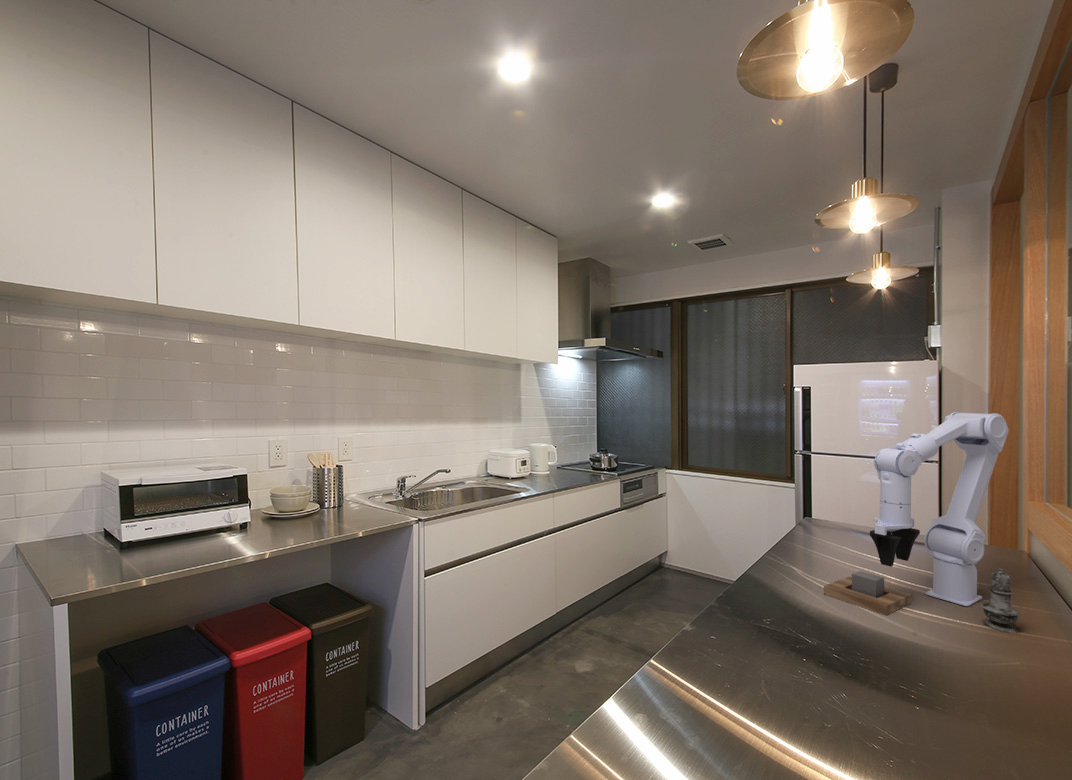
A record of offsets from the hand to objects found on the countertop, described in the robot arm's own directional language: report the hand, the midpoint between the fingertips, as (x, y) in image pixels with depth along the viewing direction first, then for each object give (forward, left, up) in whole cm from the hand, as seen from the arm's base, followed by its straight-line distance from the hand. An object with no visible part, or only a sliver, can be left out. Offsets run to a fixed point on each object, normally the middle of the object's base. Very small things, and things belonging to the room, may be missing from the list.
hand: (894, 562), depth 113 cm
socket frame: (+3, -5, -9) cm, 11 cm away
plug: (+3, -4, -9) cm, 11 cm away
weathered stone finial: (-6, +16, -10) cm, 20 cm away
